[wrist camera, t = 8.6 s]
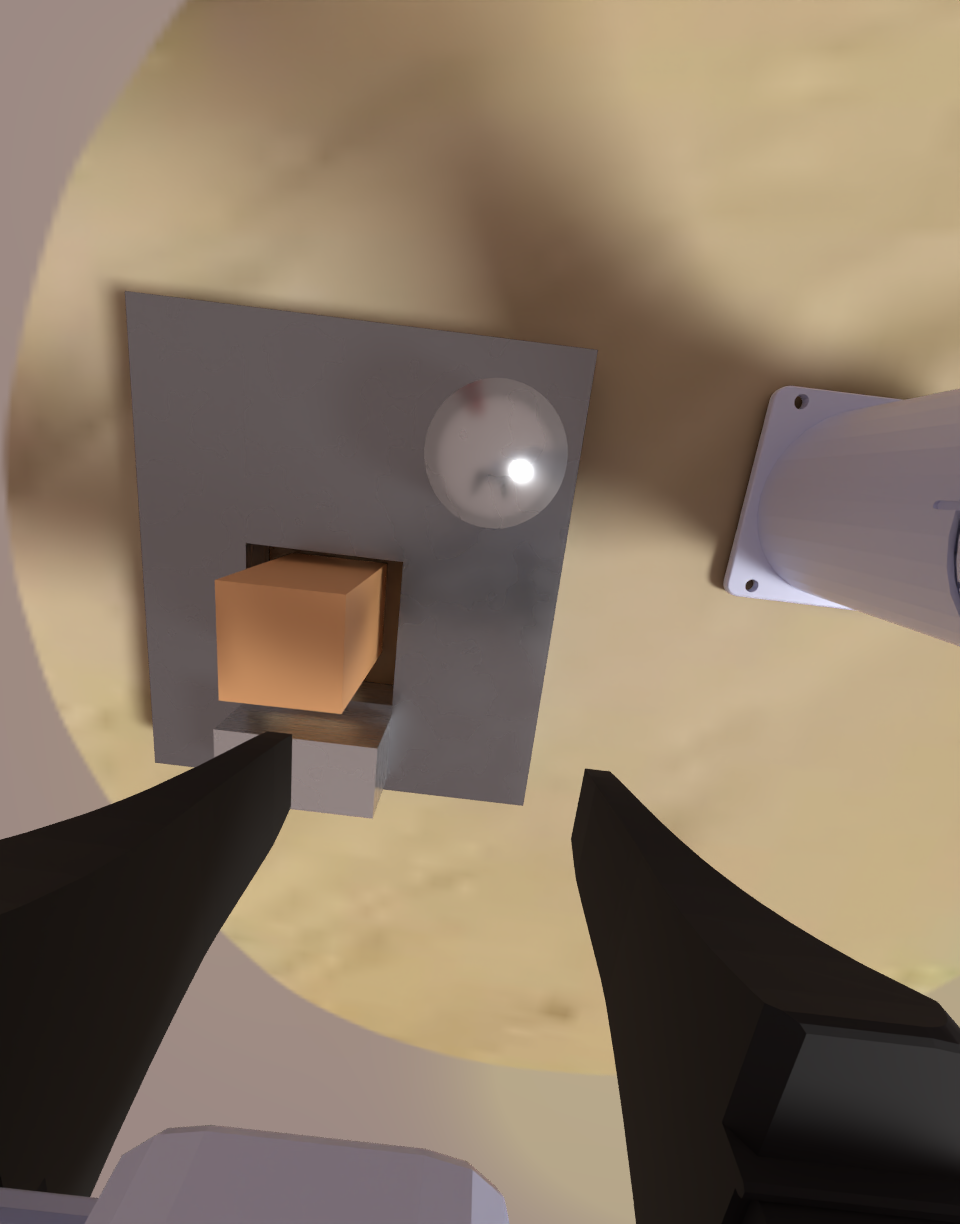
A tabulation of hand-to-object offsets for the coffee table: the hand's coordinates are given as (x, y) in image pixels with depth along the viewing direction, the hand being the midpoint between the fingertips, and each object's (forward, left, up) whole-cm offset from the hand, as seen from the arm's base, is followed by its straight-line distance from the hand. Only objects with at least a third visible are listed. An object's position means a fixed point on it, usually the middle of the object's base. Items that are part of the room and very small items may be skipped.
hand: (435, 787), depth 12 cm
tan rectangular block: (+6, -2, -10) cm, 12 cm away
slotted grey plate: (+5, -3, -10) cm, 11 cm away
